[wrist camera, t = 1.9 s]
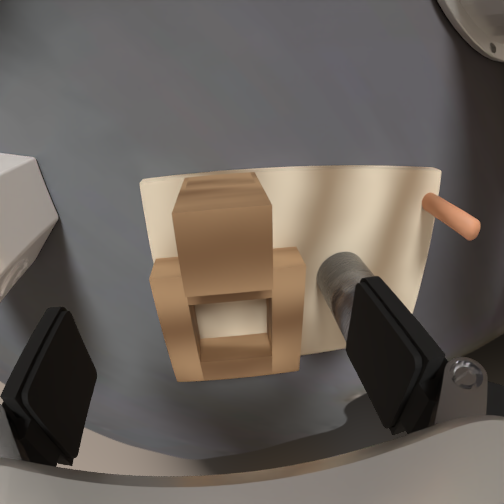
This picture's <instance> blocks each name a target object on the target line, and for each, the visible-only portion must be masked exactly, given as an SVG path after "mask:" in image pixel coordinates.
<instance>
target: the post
mask: <svg viewBox="0 0 504 504" xmlns="http://www.w3.org/2000/svg"><path fill="white" fill-rule="evenodd" d="M373 276H374V275H373V273H372V272H371V271H370V270H369V268H368V267H367V266H366V265H365V263H364V262H363V261H362V260H361V258H360V257H359V256H357V255H356V254H354V253H352V252H339V253H336V254H333V255H332V256H330V257H328V258H327V259H326V260H325V261H324V262H323V263H322V264H321V266H320V268H319V270H318V272H317V277H316V280H317V285H318V287H319V289H320V291H321V293H322V295H323V297H324V299H325V301H326V303H327V305H328V307H329V309H330V311H331V313H332V315H333V317H334V319H335V321H336V323H337V325H338V327H339V329H340V331H341V333H342V335H343V337H344V339H345V341H347V335H348V330H349V324H350V318H351V312H352V306H353V299H354V292H355V286H356V284H357V283H360V280H361V279H362V278H366V277H373Z"/></svg>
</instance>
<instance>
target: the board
mask: <svg viewBox="0 0 504 504" xmlns="http://www.w3.org/2000/svg"><path fill="white" fill-rule="evenodd" d="M245 172H255V174H256V176H257V178H258V179H259V181H260V183H261V185H262V187H263V189H264V191H265V192H266V194H267V196H268V198H269V200H270V202H271V204H272V222H273V248H284V247H297V249H298V251H299V253H300V255H301V257H302V259H303V261H304V262H305V264H306V278H305V296H304V311H303V326H302V339H301V352H300V355H307V354H313V353H320V352H326V351H332V350H338V349H343V348H346V341H345V339H344V337H343V335H342V333H341V331H340V329H339V327H338V325H337V323H336V321H335V319H334V317H333V315H332V313H331V311H330V309H329V307H328V305H327V303H326V301H325V299H324V297H323V295H322V293H321V291H320V289H319V287H318V285H317V280H316V277H317V272H318V270H319V268H320V266H321V264H322V263H323V262H324V261H325V260H326V259H327V258H328V257H330V256H332V255H333V254H336V253H339V252H352V253H354V254H356V255H357V256H359V257H360V258H361V260H362V261H363V262H364V263H365V265H366V266H367V267H368V268H369V270H370V271H371V272H372V273H373V275H374V276H379V277H380V278H381V279H382V280H383V281H384V282H385V283H386V284H387V285H388V287H389V288H390V289H391V290H392V291H393V292H394V293H395V295H396V296H397V297H398V298H399V299H400V300H401V302H402V303H403V304H404V305H405V306H406V307H407V309H408V310H409V311H410V312H411V313H413V310H414V307H415V303H416V299H417V296H418V292H419V288H420V285H421V281H422V277H423V273H424V268H425V264H426V260H427V255H428V251H429V246H430V241H431V236H432V231H433V225H434V220H435V217H434V216H433V215H431V214H430V213H428V212H427V211H425V210H424V209H423V207H422V200H423V197H424V196H425V195H426V194H427V193H434V194H436V195H437V196H438V195H439V188H440V180H441V171H440V170H438V169H436V168H433V167H411V166H366V165H342V166H296V167H273V168H255V169H239V170H226V171H214V172H202V173H192V174H182V175H173V176H164V177H156V178H148V179H143V180H142V181H141V182H140V190H141V196H142V202H143V209H144V215H145V220H146V226H147V232H148V237H149V242H150V247H151V252H152V257H153V262H154V263H155V259H158V258H169V257H178V253H177V247H176V240H175V234H174V227H173V220H172V211H173V208H174V205H175V203H176V200H177V197H178V194H179V192H180V189H181V186H182V183H183V181H184V178H186V177H196V176H207V175H219V174H231V173H245ZM194 306H195V312H196V317H197V323H198V328H199V334H200V339H203V338H216V337H228V336H239V335H249V334H259V333H267V304H266V298H265V299H255V300H245V301H234V302H223V303H211V304H198V305H194Z"/></svg>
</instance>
